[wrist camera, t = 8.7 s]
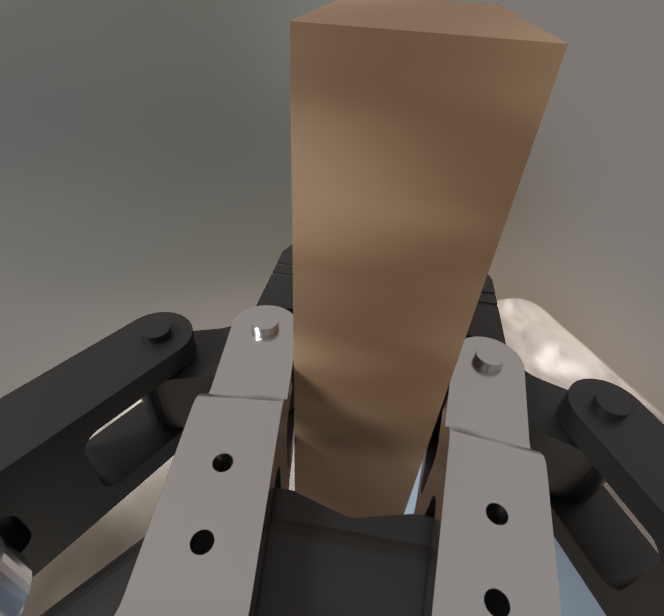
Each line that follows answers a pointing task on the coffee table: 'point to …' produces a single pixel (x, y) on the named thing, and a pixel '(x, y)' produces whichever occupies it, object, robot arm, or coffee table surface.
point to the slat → (397, 222)
